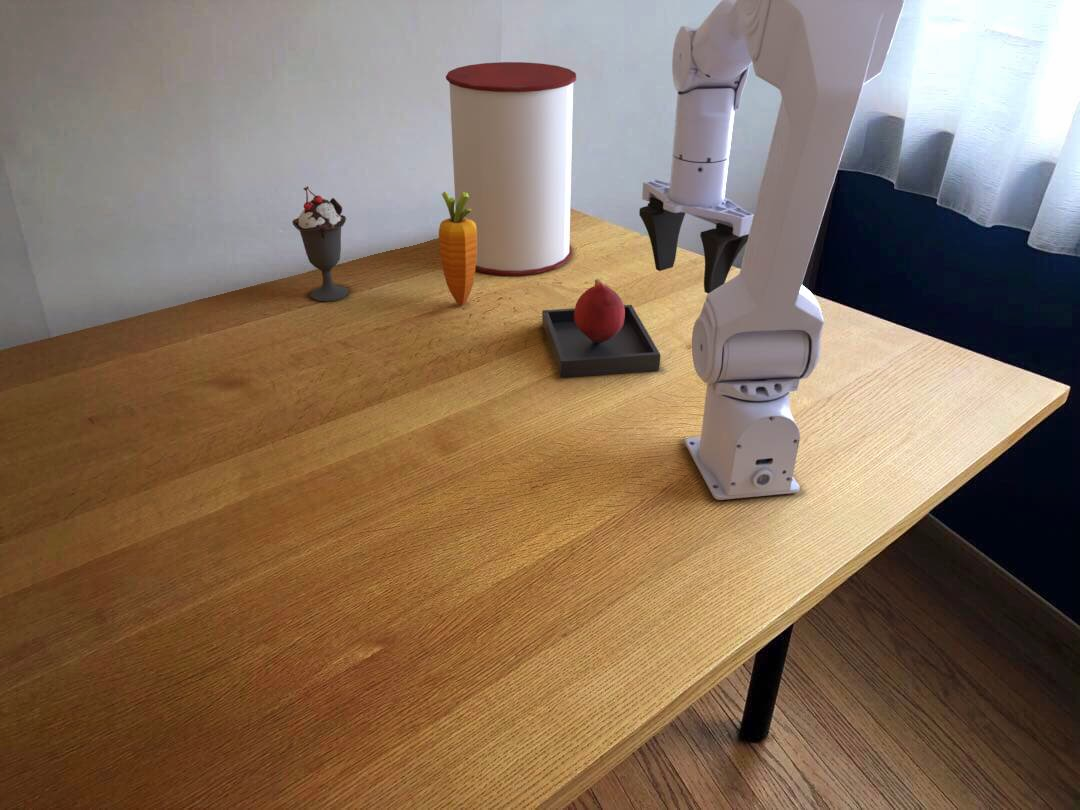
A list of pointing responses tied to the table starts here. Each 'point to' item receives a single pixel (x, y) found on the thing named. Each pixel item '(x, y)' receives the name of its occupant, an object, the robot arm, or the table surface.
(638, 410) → the table surface
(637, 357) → the tray
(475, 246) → the carrot
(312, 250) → the sundae
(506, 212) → the container
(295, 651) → the table surface
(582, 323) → the onion
